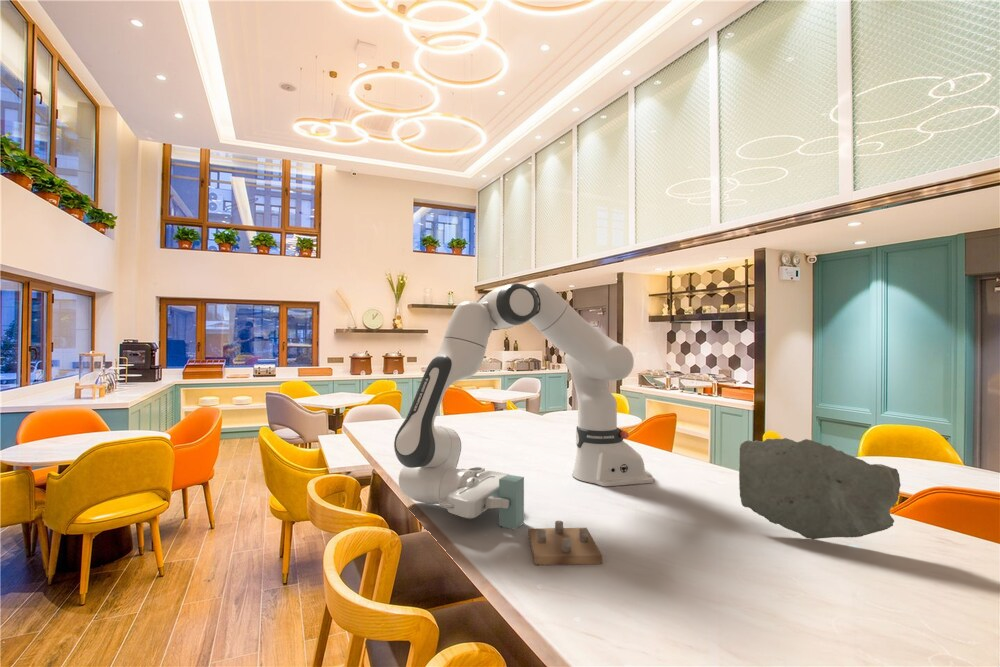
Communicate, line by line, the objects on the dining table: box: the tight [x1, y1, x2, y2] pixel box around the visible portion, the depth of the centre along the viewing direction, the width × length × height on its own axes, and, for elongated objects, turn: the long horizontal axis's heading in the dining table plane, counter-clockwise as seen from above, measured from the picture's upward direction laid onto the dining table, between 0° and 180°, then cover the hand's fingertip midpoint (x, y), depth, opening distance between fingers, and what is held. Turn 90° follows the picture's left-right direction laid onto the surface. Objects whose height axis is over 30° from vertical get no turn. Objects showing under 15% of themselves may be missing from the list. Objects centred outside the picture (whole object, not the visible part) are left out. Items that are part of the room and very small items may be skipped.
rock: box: [738, 437, 902, 540], centre depth 93 cm, size 27×6×20 cm, turn 61°
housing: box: [527, 520, 603, 566], centre depth 89 cm, size 12×12×4 cm
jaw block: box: [498, 473, 525, 530], centre depth 101 cm, size 4×4×10 cm
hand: (515, 499), depth 101 cm, fingers open, 4 cm apart
